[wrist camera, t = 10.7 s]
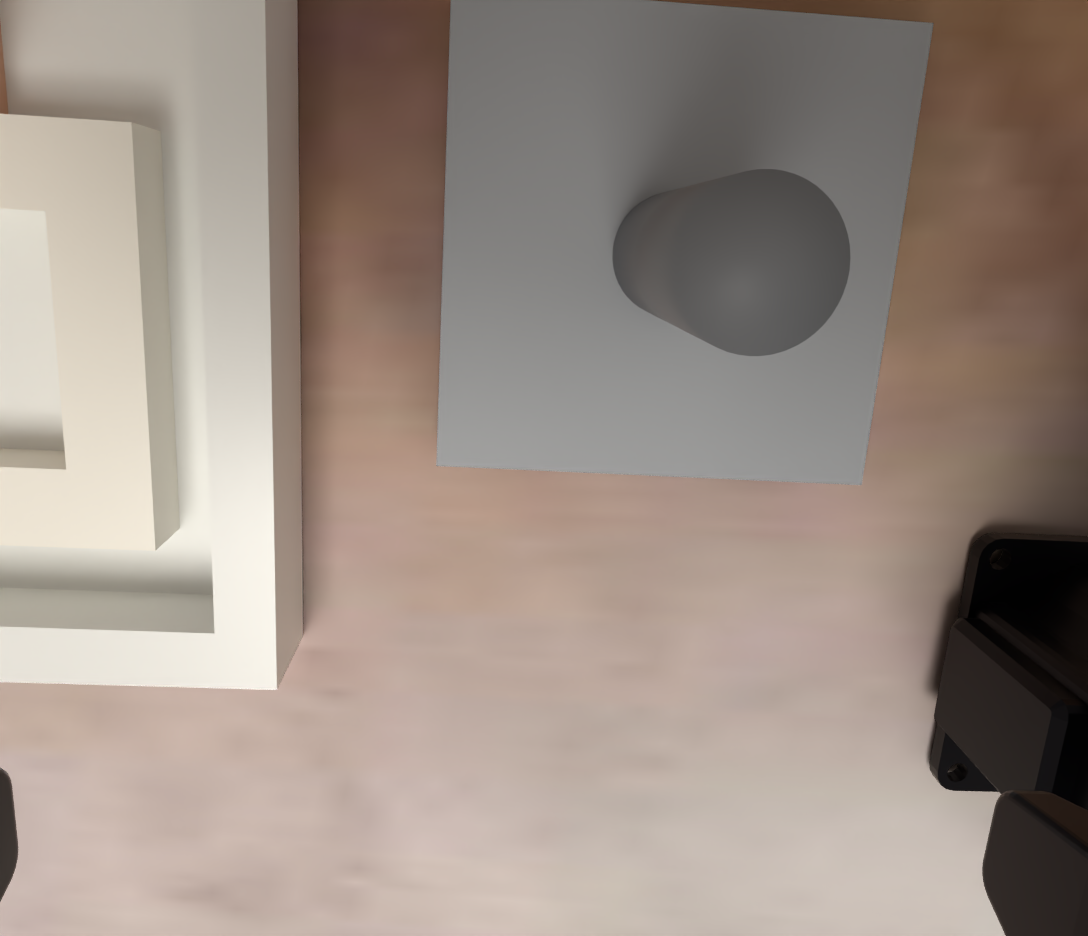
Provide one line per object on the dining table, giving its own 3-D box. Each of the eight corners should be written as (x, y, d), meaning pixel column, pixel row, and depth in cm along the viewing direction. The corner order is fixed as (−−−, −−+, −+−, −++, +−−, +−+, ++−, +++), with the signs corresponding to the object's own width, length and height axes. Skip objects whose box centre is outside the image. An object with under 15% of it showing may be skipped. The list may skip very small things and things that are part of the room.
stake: (905, 36, 18) (1168, -92, 11) (840, 470, 20) (1023, 596, 13) (454, 1, 17) (425, -158, 10) (440, 452, 19) (408, 573, 12)
